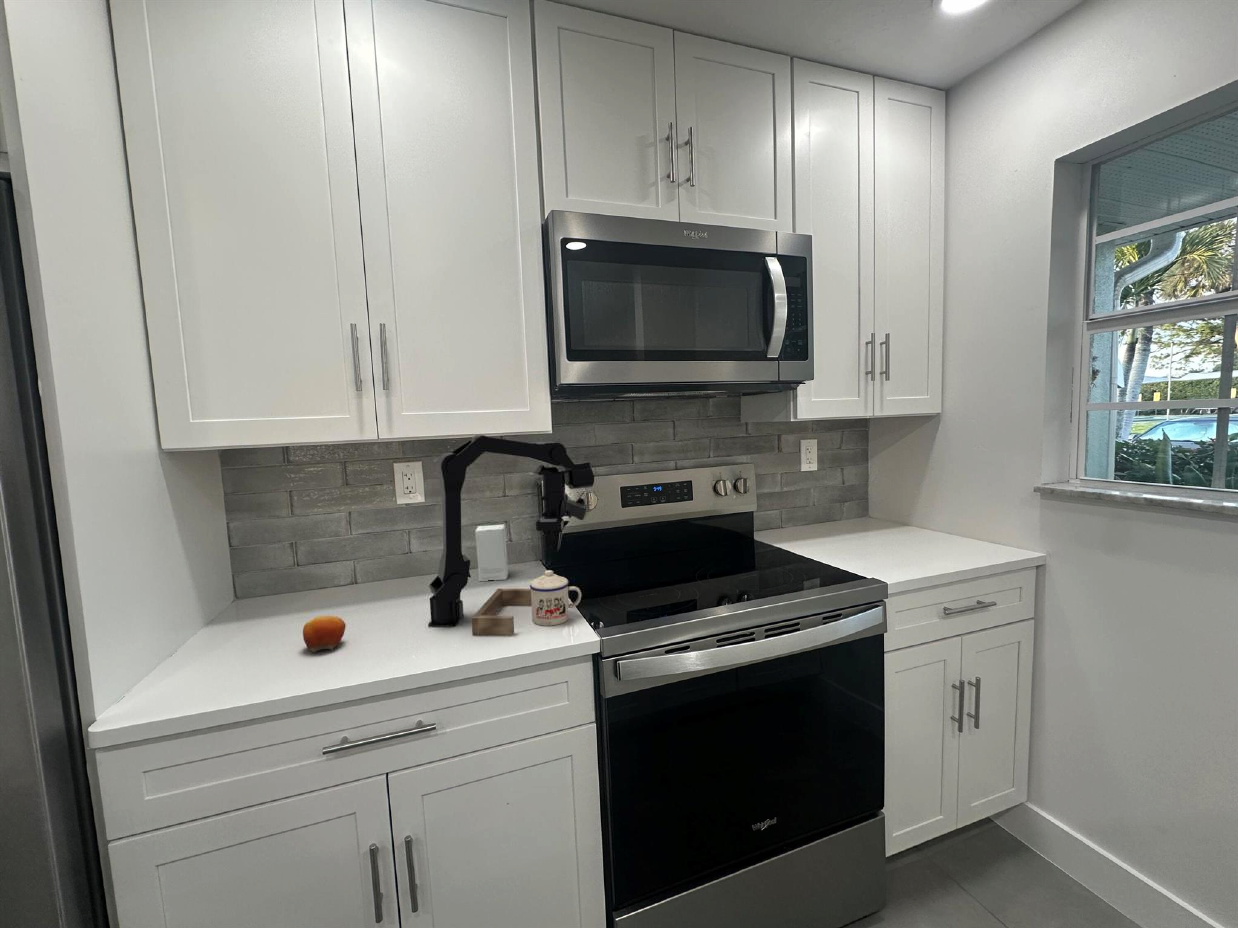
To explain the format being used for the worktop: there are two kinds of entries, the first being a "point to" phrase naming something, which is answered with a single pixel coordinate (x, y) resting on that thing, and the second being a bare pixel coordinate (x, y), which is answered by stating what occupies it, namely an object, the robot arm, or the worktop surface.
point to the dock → (485, 616)
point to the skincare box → (491, 552)
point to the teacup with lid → (551, 599)
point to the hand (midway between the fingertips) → (556, 550)
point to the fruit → (323, 632)
